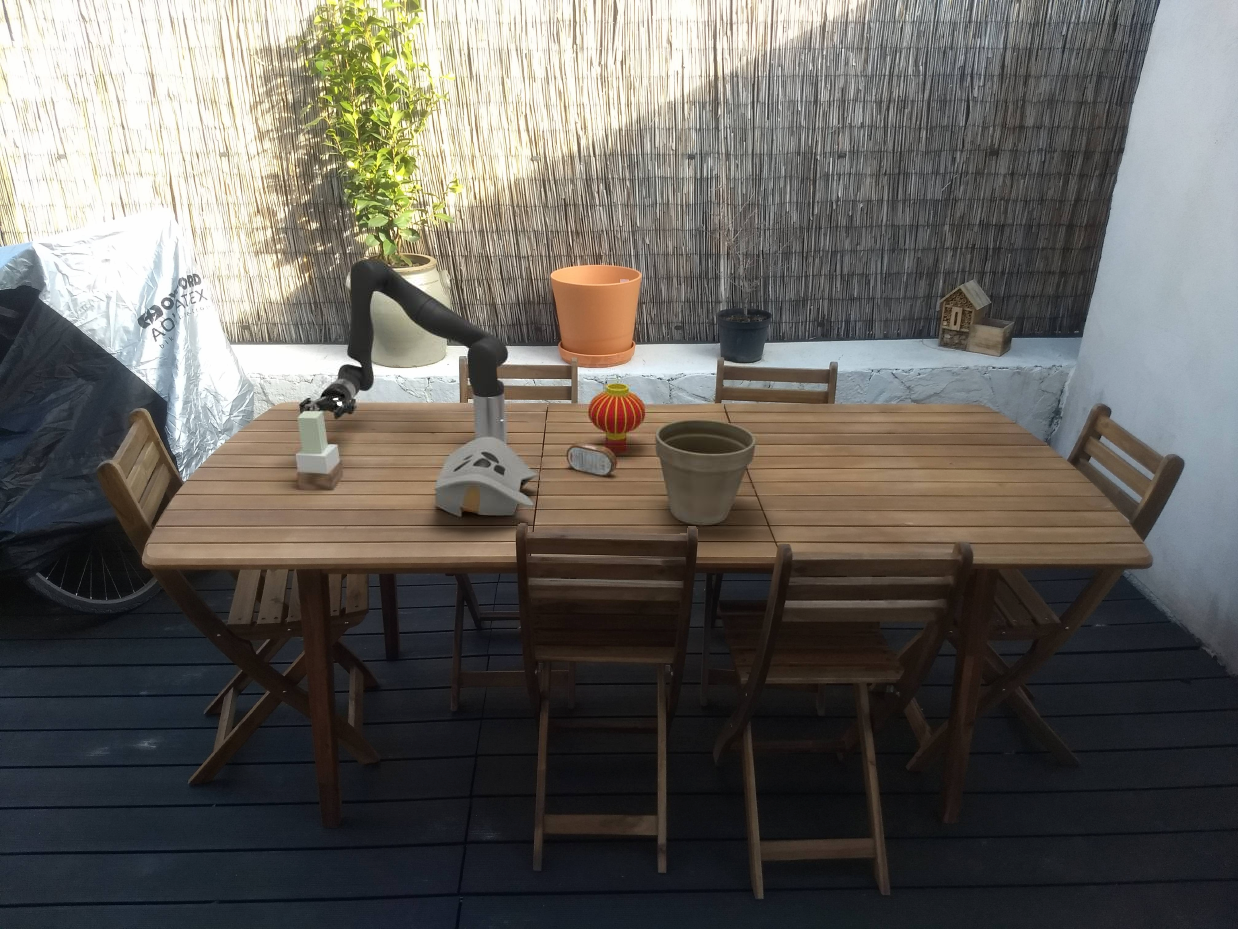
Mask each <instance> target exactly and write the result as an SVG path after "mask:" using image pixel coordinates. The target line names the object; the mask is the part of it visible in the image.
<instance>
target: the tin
mask: <svg viewBox="0 0 1238 929" xmlns="http://www.w3.org/2000/svg"><path fill="white" fill-rule="evenodd" d="M565 455H566V461H567V463H568V465H569V466H570V468H572V469H573V470H575V471H577V472H581V473H586V474H591V475H595V476H599V477H606V476H609V475H610V474H612V473H613V472H614V471H615V470H616V468H617V466H618V462H617V456H616V455H615V452H614V453H613V450H612V451H611V449H610V448H609V449H608V448H606V446H605V447H604V446H601V445H596V444H591V443H587V442H582V441H577V442H574V443H573V444H571V446H569V448H568V449H567V450H566V454H565Z"/></svg>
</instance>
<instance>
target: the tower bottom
mask: <svg viewBox="0 0 1238 929" xmlns="http://www.w3.org/2000/svg"><path fill="white" fill-rule="evenodd" d="M339 460H340V462H339V463H338V464H337V465H336V466H335V467H334V468H333V469H332V470H331V471H330V472H329V473H328V474H323V473H306V472H298V471H297V473H296V477H297V484H298V490H300V491H334V490H335V488H336V487H337V486H338V484H339V483H340V482H341V480H342V478H343V477H344V473H343V464H342V460H341V459H339Z"/></svg>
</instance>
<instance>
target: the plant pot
mask: <svg viewBox="0 0 1238 929" xmlns="http://www.w3.org/2000/svg"><path fill="white" fill-rule="evenodd" d="M654 442H655V444H654V445H655V446H654V447H655V454H656V456H657V457H658V458H659V460H660V466H661V472H662V476H663V480H664V485H665V489H666V495H667V499H668V505H669V508H670V512H671V515H672V516H673V517H674V518H676V519H677V520H678V521H681V522H682V523H686V524H690V525H695V526H712V525H717V524H720V523H722V522H723V521H725V520H726V519H727V517H728V515H729V513H730V510H731V509H732V506H733V504H734V501H735V498H736V496H737V494H738V491H739V488H740V486H741V483H742V482H743V478H744V476H745V473H746V472H747V468H748V466H749V464H751V463H752V461H753V459H754V455H755V449H756V444H757V439H756V437H755V435H754V434H753V433H752V432H751V431H749V430H748V429H746V428H744V427H742V426H740V425H737V424H735V423H731V422H727V421H722V420H716V419H705V418H691V419H690V418H687V419H681V420H680V419H679V420H676V421H671V422H667V423H666V424H664V425H662V426H660V427H659V428H657V430H656V431H655V440H654Z"/></svg>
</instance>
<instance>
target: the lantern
mask: <svg viewBox="0 0 1238 929" xmlns="http://www.w3.org/2000/svg"><path fill="white" fill-rule="evenodd" d="M617 357H619V353H618V354H617ZM616 379H617V381H616V383H615V382H614V383H609V384H607V385H606V387H605V388H606V389H605V391H602V392H600V393H598V394H597V395H595V396H594V397H593V398H592V399H591V401H590V402H589V405H588V411H587V415H588V419H589V421H590V422H591V423H592V425H594V426H595V427H596V429H598V430H600V431H603V432H605V447H606V448H608V449H609V450H611V451H612V452H613V453H614V454H623V453H625V452H626V450H627V436H628V433H630V432H632V431H635V430H636V429H638V428H639V427H640V425H642V423H643V422H644V421H645V418H646V406H645V403H644V402H643V400H642V399H641V398H640V397H639V396H638V395H637V394H635V393H633V392H631V391H630V390H629V388H630V387H629V385H627V384H625V383H619V375H617V378H616Z"/></svg>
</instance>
